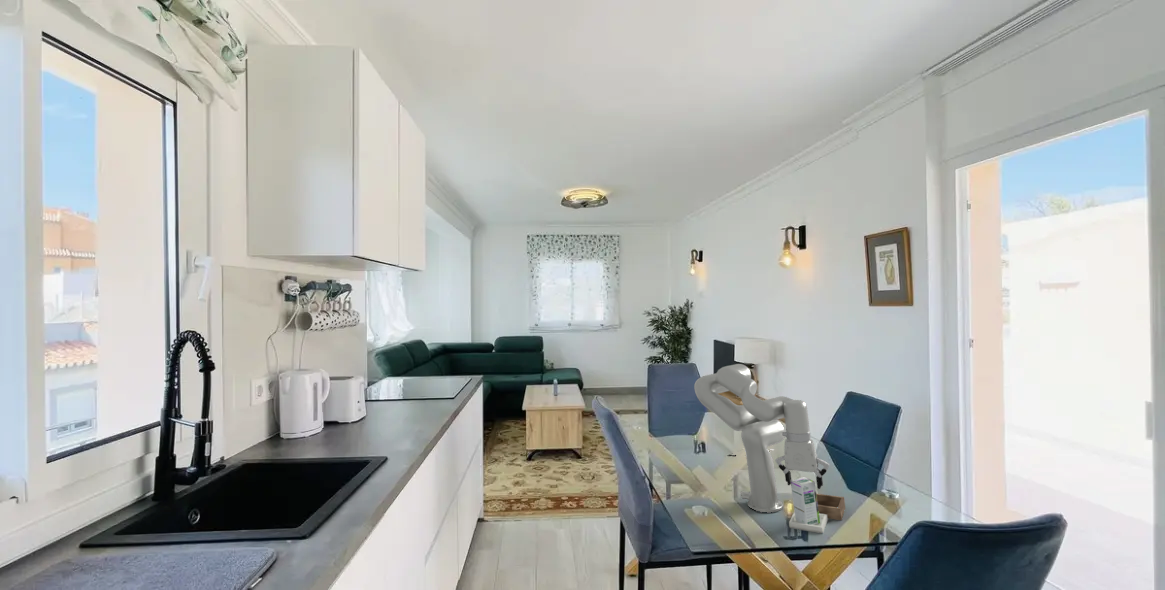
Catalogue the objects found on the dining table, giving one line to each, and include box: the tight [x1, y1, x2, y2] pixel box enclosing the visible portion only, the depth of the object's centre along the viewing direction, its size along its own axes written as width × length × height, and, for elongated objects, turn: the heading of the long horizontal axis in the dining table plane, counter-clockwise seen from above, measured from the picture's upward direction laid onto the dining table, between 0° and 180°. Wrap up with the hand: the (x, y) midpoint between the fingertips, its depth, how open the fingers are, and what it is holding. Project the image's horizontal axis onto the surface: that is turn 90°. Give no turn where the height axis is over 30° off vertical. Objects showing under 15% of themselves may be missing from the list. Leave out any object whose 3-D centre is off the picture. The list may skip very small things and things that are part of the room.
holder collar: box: [816, 493, 846, 521], centre depth 173 cm, size 11×11×4 cm
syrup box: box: [790, 476, 820, 525], centre depth 166 cm, size 6×6×14 cm
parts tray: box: [788, 511, 829, 534], centre depth 165 cm, size 10×10×2 cm
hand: (804, 485), depth 166 cm, fingers open, 9 cm apart
